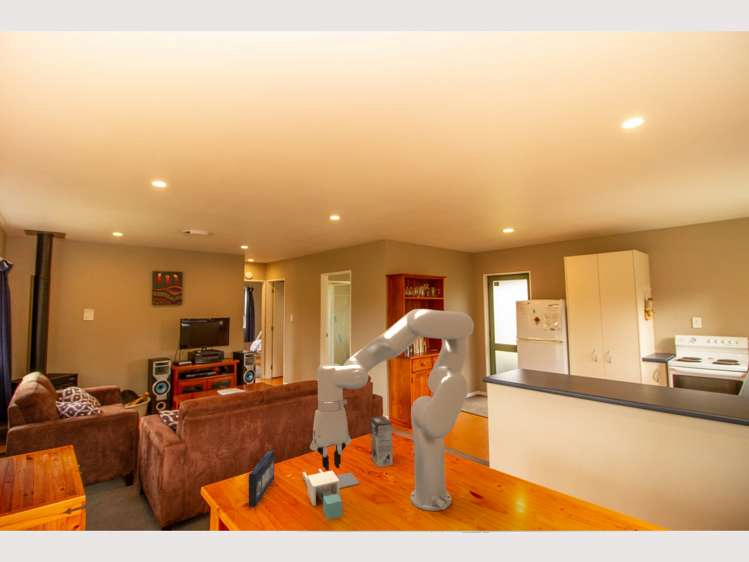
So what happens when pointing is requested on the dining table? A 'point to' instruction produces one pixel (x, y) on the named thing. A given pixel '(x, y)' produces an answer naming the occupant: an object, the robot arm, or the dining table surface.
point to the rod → (323, 492)
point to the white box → (321, 483)
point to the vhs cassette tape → (261, 478)
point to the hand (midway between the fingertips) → (331, 467)
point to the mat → (347, 480)
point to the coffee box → (381, 441)
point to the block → (332, 506)
